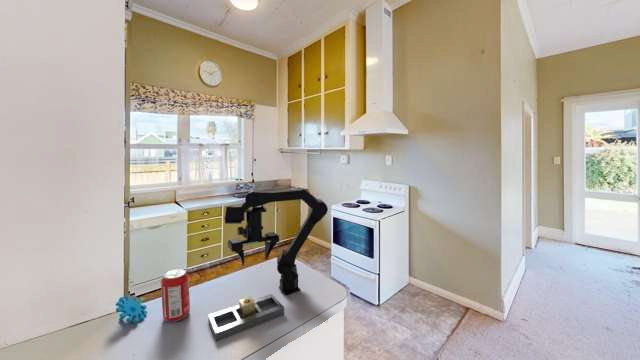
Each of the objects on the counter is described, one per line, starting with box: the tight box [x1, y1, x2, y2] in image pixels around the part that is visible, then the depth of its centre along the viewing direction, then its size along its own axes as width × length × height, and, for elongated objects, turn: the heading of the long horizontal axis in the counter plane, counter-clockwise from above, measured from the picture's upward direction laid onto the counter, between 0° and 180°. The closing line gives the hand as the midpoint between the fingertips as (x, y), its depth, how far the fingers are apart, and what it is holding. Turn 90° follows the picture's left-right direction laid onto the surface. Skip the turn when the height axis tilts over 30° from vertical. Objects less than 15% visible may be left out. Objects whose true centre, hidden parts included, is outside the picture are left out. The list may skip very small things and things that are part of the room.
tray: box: [208, 293, 285, 342], centre depth 84 cm, size 22×10×2 cm, turn 125°
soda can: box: [160, 268, 191, 322], centre depth 84 cm, size 8×8×15 cm
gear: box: [115, 294, 148, 323], centre depth 83 cm, size 11×6×10 cm
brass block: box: [238, 296, 255, 319], centre depth 84 cm, size 4×4×6 cm
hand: (254, 262), depth 99 cm, fingers open, 9 cm apart
